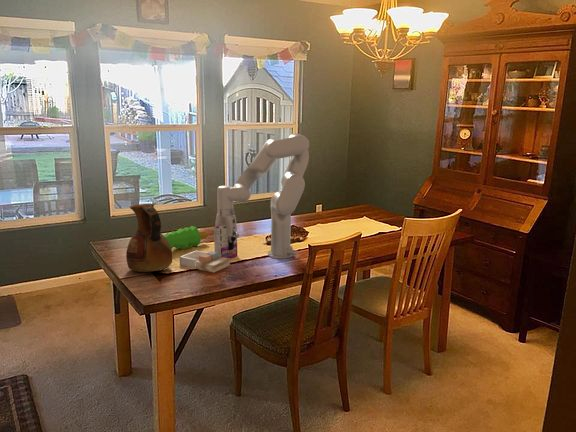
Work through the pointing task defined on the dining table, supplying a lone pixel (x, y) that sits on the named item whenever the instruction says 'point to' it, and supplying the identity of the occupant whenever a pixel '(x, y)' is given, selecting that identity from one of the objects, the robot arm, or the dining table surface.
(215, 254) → the tile
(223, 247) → the candy bar box
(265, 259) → the dining table surface
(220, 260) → the board
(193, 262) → the tray
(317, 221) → the dining table surface
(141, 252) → the ceramic pitcher
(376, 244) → the dining table surface
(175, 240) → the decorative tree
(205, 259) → the tile
